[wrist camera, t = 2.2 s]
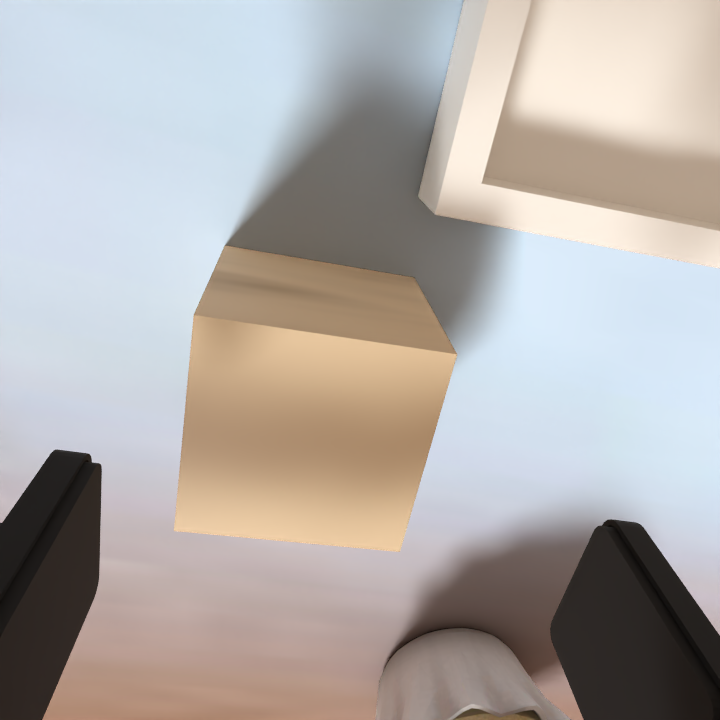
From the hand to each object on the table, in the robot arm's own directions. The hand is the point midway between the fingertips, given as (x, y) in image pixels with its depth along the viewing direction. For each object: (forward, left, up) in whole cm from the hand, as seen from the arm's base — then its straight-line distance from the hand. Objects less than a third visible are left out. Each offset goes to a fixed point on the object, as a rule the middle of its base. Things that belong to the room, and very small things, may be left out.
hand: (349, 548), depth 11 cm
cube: (0, +1, -10) cm, 10 cm away
